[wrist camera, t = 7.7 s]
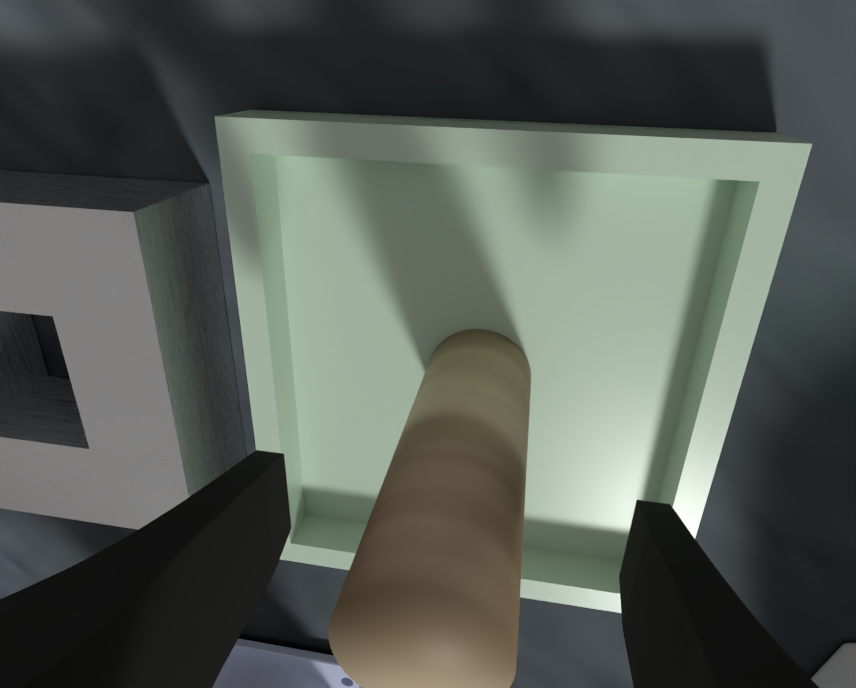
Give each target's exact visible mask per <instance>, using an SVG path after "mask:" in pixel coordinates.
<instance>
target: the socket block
mask: <svg viewBox="0 0 856 688" xmlns="http://www.w3.org/2000/svg"><path fill="white" fill-rule="evenodd" d="M31 314H35V315H45V316H53V319H54V323H55V326H56V330H57V334H58V337H59V341H60V344H61V348H62V352H63V355H64V359H65V363H66V366H67V370H68V373H69V377H70V379H69V378H61V377H52V376H49V374H48V371H47V367H46V364H45V360H44V357H43V354H42V350H41V347H40V343H39V340H38V337H37V333H36V330H35V326H34V323H33V320H32V316H31ZM244 458H246V452H245V445H244V437H243V430H242V423H241V415H240V408H239V400H238V393H237V386H236V378H235V371H234V364H233V356H232V349H231V341H230V334H229V327H228V319H227V312H226V304H225V297H224V290H223V282H222V275H221V268H220V260H219V253H218V245H217V238H216V231H215V223H214V216H213V209H212V201H211V194H210V186H209V183H197V182H181V181H165V180H149V179H134V178H118V177H102V176H86V175H70V174H54V173H39V172H23V171H7V170H0V508H2V509H9V510H15V511H22V512H28V513H34V514H41V515H47V516H54V517H60V518H67V519H73V520H79V521H86V522H92V523H99V524H105V525H112V526H118V527H124V528H131V529H137V530H139V529H140V528H142V527H143V526H145V525H147V524H148V523H150V522H151V521H153V520H155V519H156V518H158V517H159V516H161V515H163V514H164V513H166V512H167V511H169V510H171V509H172V508H174V507H175V506H177V505H178V504H180V503H181V502H183V501H184V500H186V499H187V498H188V497H190V496H191V495H193V494H194V493H196V492H197V491H199V490H200V489H202V488H203V487H204V486H206V485H207V484H209V483H210V482H212V481H213V480H215V479H216V478H217V477H219V476H220V475H222V474H223V473H224V472H226V471H227V470H229V469H230V468H231V467H233V466H234V465H236V464H237V463H239V462H240V461H241V460H243V459H244Z"/></svg>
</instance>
